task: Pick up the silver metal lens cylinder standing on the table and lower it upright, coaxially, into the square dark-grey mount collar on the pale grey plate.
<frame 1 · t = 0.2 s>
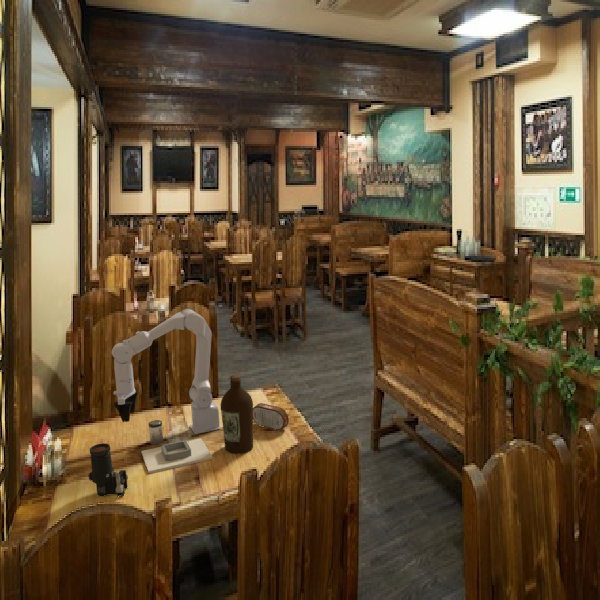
hand: (128, 416, 178), 10 cm above the table, tool pointing down, fingers open, 7 cm apart
lens: (156, 441, 181), on the table
tin: (270, 428, 189), on the table
mount plate: (176, 456, 170), on the table
black camera: (108, 493, 150), on the table
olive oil: (239, 448, 174), on the table
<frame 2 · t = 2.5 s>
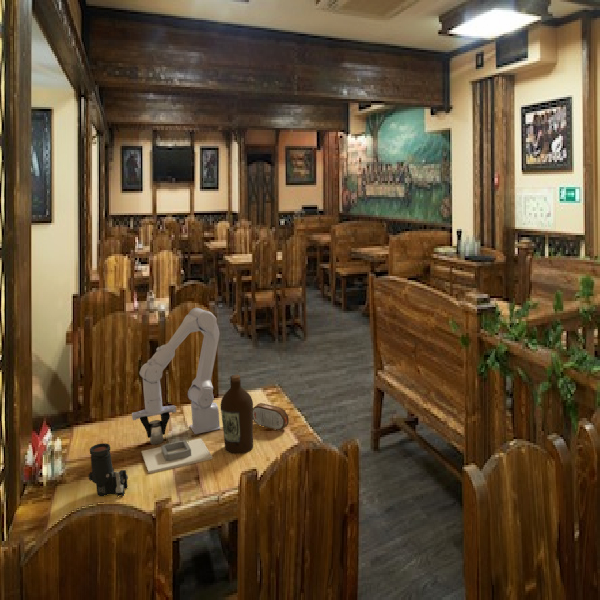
hand: (156, 435, 181), 2 cm above the table, tool pointing down, fingers closed on lens, 4 cm apart
lens: (156, 441, 181), on the table, touching gripper
everything else where it was.
when the fingers open (4 cm above the table, at t = 8.4 s): lens stays where it is, resting on mount plate.
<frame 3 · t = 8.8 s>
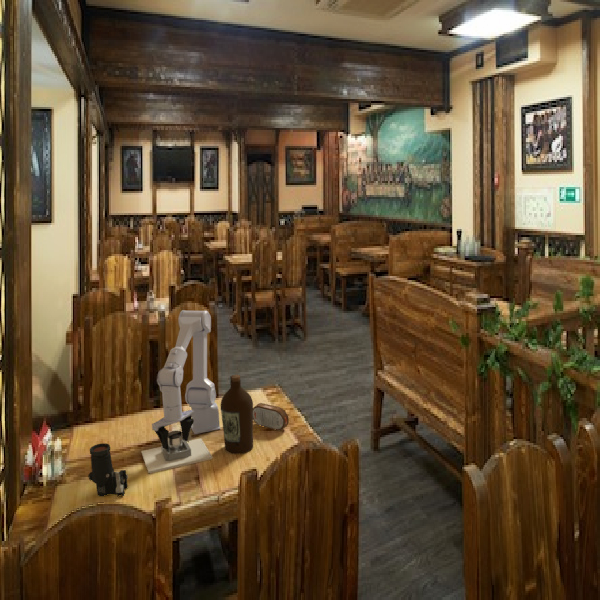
hand: (175, 444, 169), 4 cm above the table, tool pointing down, fingers open, 7 cm apart
lens: (176, 453, 170), point 1 cm above the table, touching mount plate
everything else where it was.
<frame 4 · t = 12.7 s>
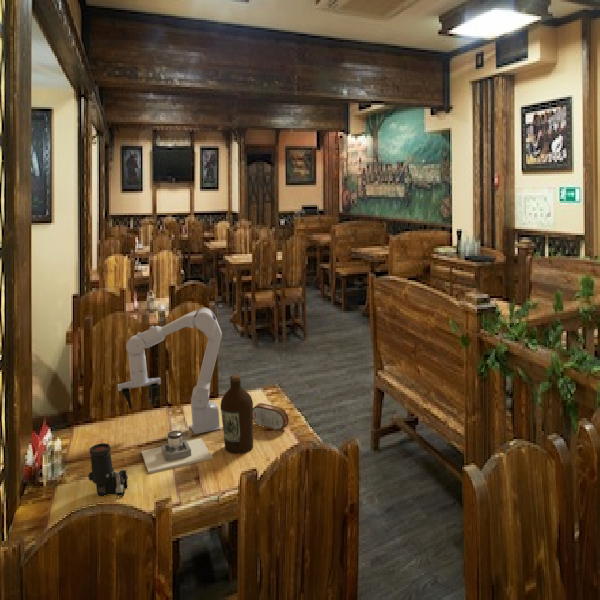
hand: (141, 406, 186), 10 cm above the table, tool pointing down, fingers open, 7 cm apart
nothing on the table moved.
at the end: lens 0.1 cm off-centre on the mount plate, point 0.8 cm above the mount plate's base; lens tilted 1°; the gripper is holding nothing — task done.
